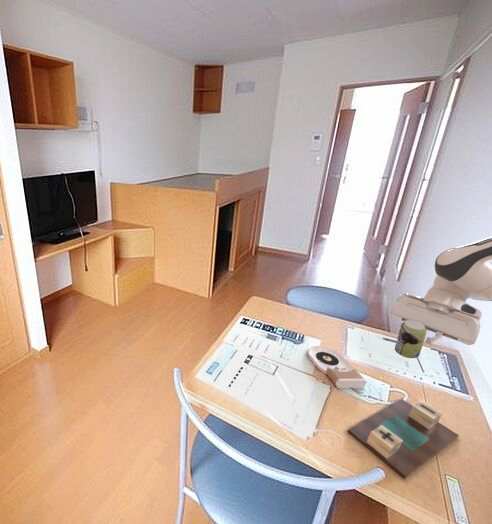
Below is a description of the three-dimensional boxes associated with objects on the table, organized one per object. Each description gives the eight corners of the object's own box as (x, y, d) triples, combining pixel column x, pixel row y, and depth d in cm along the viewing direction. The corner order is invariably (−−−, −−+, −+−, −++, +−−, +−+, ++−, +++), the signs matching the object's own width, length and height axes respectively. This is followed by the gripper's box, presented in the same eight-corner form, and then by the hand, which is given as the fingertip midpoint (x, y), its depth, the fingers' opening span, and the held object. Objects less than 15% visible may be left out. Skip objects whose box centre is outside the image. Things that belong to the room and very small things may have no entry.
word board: (400, 400, 95) (405, 388, 93) (457, 437, 84) (465, 424, 82) (347, 431, 85) (352, 418, 83) (404, 479, 73) (411, 465, 71)
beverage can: (404, 347, 101) (408, 315, 98) (429, 359, 94) (433, 324, 91) (388, 352, 100) (391, 319, 97) (412, 364, 93) (416, 329, 90)
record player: (335, 380, 99) (303, 342, 117) (332, 388, 100) (302, 349, 118) (370, 380, 99) (333, 342, 117) (367, 387, 100) (331, 349, 119)
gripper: (401, 287, 101) (381, 322, 100) (489, 314, 86) (467, 355, 84) (401, 295, 105) (382, 328, 104) (485, 322, 90) (464, 362, 89)
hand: (421, 341), depth 94 cm, fingers closed on beverage can
